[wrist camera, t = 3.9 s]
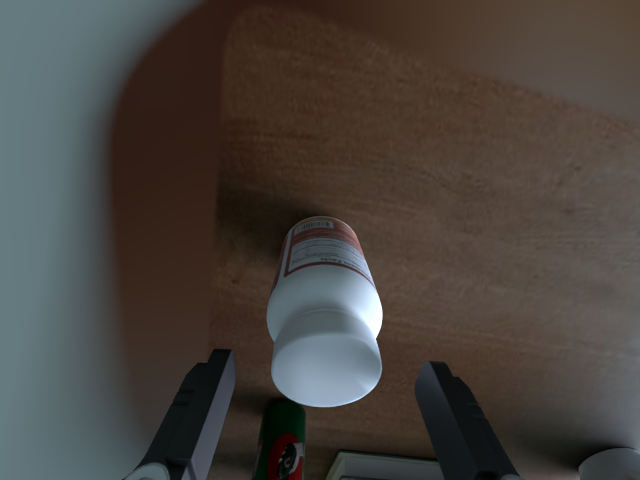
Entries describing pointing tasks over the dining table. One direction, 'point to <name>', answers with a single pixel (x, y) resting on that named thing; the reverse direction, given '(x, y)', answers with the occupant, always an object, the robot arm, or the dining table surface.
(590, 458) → the sugar bowl
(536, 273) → the dining table surface
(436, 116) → the dining table surface
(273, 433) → the soda can
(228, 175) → the dining table surface
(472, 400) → the robot arm
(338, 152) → the dining table surface
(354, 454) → the book
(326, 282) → the pill bottle
